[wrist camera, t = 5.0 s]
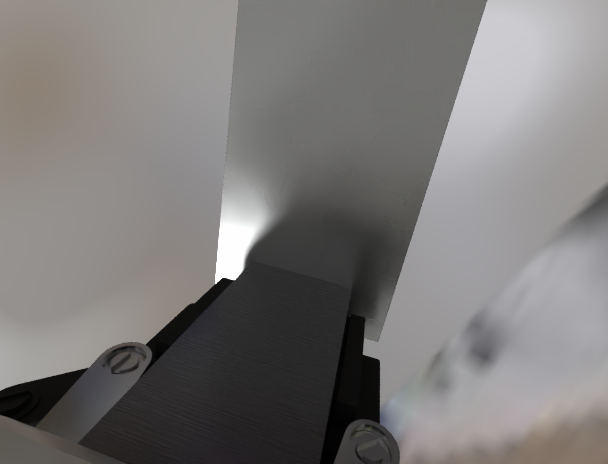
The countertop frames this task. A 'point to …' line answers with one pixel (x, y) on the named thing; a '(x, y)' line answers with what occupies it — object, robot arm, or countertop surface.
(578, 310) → the countertop surface
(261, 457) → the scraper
